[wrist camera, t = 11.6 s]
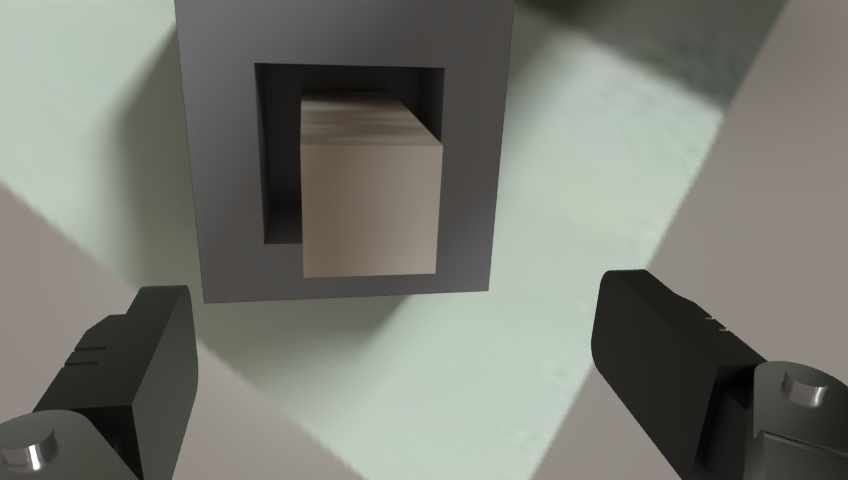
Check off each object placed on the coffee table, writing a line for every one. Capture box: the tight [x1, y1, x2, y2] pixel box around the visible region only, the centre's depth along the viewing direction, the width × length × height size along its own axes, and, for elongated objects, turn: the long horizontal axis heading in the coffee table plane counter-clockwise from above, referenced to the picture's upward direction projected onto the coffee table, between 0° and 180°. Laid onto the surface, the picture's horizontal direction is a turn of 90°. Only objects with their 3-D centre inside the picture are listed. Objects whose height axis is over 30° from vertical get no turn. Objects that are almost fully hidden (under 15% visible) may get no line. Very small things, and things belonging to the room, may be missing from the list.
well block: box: [174, 0, 514, 303], centre depth 26 cm, size 12×12×6 cm
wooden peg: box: [300, 87, 443, 278], centre depth 23 cm, size 4×4×12 cm
